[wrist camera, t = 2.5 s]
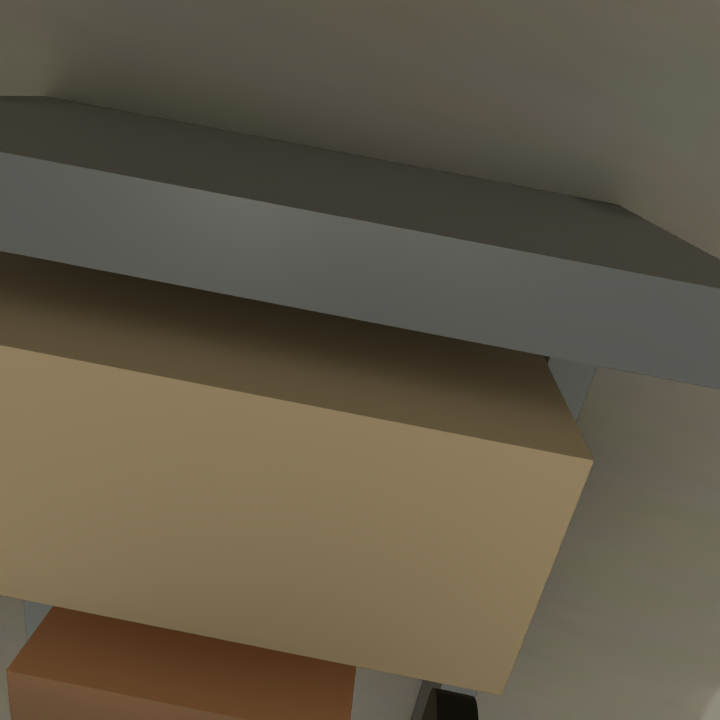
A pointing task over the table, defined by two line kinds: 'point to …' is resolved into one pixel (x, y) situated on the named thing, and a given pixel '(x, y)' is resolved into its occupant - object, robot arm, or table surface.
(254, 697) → the pusher
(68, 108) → the grey shallow tray
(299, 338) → the kraft carton
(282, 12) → the table surface
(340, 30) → the table surface
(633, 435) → the table surface
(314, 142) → the table surface
